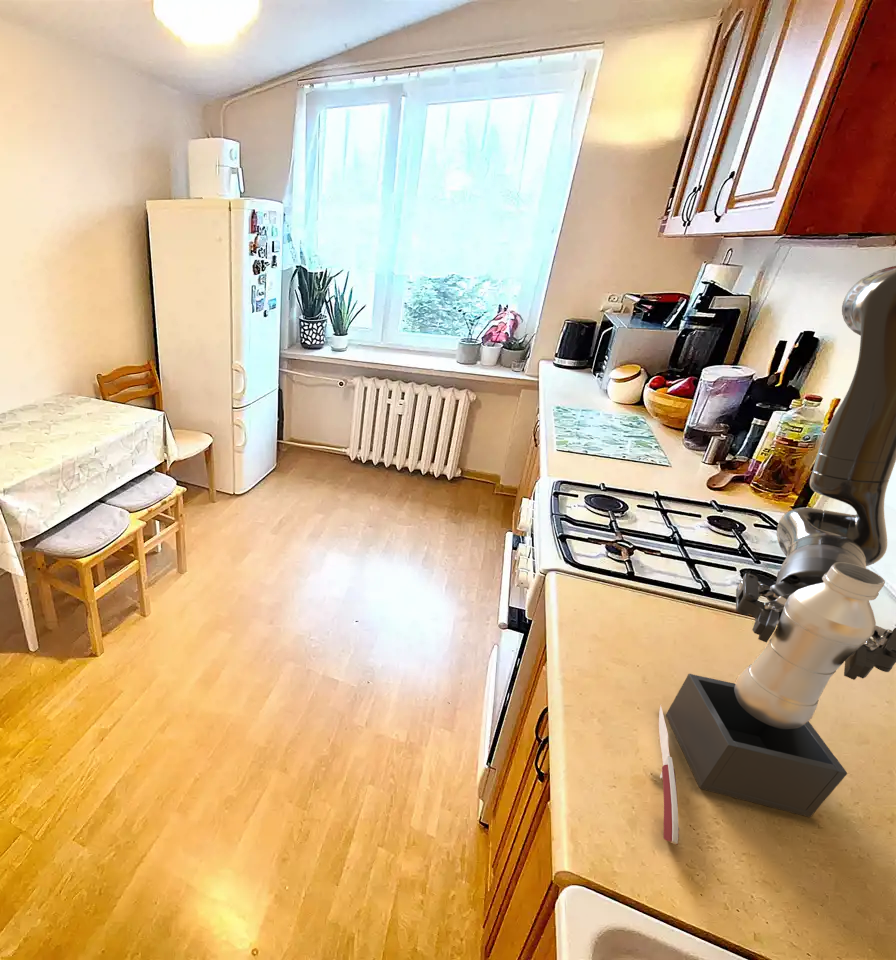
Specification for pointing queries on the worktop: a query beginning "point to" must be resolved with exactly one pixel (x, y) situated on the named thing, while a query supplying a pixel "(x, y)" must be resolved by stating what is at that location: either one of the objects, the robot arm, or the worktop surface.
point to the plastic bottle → (809, 646)
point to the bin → (750, 751)
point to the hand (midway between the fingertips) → (809, 652)
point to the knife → (668, 786)
